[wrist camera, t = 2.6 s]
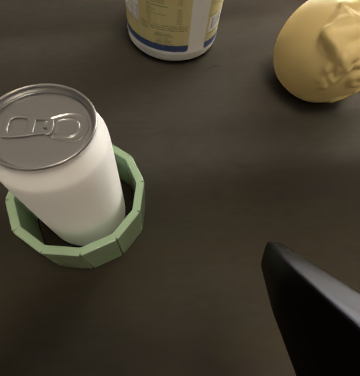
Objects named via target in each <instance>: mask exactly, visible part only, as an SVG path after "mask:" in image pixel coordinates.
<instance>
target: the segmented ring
mask: <svg viewBox="0 0 360 376" xmlns="http://www.w3.org/2000/svg"><path fill="white" fill-rule="evenodd" d="M112 147H113V152H114V156H115V160H116V165H117V169H118V174H119V178H120V179H121V180H123V181H124V182H126V183H127V184H129V185H130V187H131V189H132V191H133V193H134V195H135V196H134V202H133V209H132V211H131V212H130V213H129V214H128V215H127V217H126V218H125V219H124V220H123V221H122V223H121V224H120V225H119V226H118V227H117V229H116V230H115V231H114V232H113V233H112V234H111V235H108V236H106V237H104V238H101V239H99V240H97V241H94V242H92V243H90V244H87V245H85V246H83V247H80V248H77V247H64V246H51V245H45V244H44V241H43V238H42V234H41V231H40V227H39V223H38V217H37V216H36V215H35V214H34V213H33V212H32V211H31V210H30V209H28V208H27V207H26V206H25V205H24V204H23V203H22V202H21V201H20V200H19V199H18V198H17V197H16V196H15V195H14V194H12V193H11V192H10V191H8V194H7V196H6V201H5V203H6V207H7V212H8V216H9V220H10V225H11V229H12V231H13V233H14V234H15V235H17V236H18V237H19V238H21V239H22V240H23V241H24V242H26V243H27V244H28V245H30V246H31V247H32V248H34V249H35V250H36V251H37V252H39V253H40V254H42V255H43V256H45V257H47V258H48V259H50V260H52V261H53V262H55V263H56V264H58V265H61V266H63V267H76V268H90V269H92V268H93V267H94V268H96V267H98V266H100V265H102V264H105V263H107V262H109V261H111V260H113V259H115V258H118V257H120V256H122V253H123V254H124V253H125V252H126V251H127V250H128V248H129V247H130V246H131V244H132V243H133V242H134V241H135V239H136V238H137V237H138V235H139V234H140V233H141V230H142V228H143V220H144V212H145V190H144V180H143V178H142V176H141V174H140V172H139V170H138V168H137V166H136V164H135V162H134V160H133V158H132V157H131V156H130V155H129V154H127V153H126V152H124V151H122V150H121V149H119V148H118V147H116V146H114V145H113V144H112Z"/></svg>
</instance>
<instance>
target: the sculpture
mask: <svg viewBox="0 0 360 376" xmlns="http://www.w3.org/2000/svg"><path fill="white" fill-rule="evenodd" d="M273 65H274V70H275V73H276V76H277V78H278V79H279V81H280V82H281V84H282V85H283V86H284V87H285V88H286V89H287V90H288V91H289V92H290V93H291V94H293V95H294V96H296V97H297V98H299V99H301V100H304V101H308V102H315V103H320V102H329V103H332V102H336V101H339V100H343V99H345V98H347V97H349V96H351V95H352V94H355V93H358V92H359V91H360V0H308V1H307V2H305V3H304V4H303V5H302V6H300V7H299V8H298V9H297V10H296V11H295V12H294V13H293V14H292V15H291V17H290V18H289V19H288V20H287V22H286V23H285V25H284V26H283V28H282V30H281V32H280V34H279V36H278V38H277V41H276V44H275V48H274V55H273Z"/></svg>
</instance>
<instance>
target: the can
mask: <svg viewBox="0 0 360 376" xmlns="http://www.w3.org/2000/svg"><path fill="white" fill-rule="evenodd" d="M0 182H1V183H2V184H3V185H4V186H5V187H6V188H7V189H8V190H9V191H10V192H11V193H12V194H14V195H15V196H16V197H17V198H18V199H19V200H20V201H21V202H22V203H23V204H24V205H25V206H26V207H27V208H28V209H30V210H31V211H32V212H33V213H34V214H35V215H36V216H37V217H38V218H39V219H40V220H41V221H42V222H44V223H45V224H46V225H47V226H48V227H49V228H50V229H51V230H52V231H53V232H54V233H56V234H57V235H58V236H59V237H60V238H61V239H63V240H64V241H66V242H68V243H70V244H73V245H78V246H85V245H87V244H90V243H92V242H94V241H97V240H99V239H101V238H104V237H106V236H108V235H111V234H112V233H113V232H114V231H115V230H116V229H117V227H118V226H119V225H120V224H121V223H122V221H123V220H124V217H125V202H124V197H123V192H122V187H121V183H120V178H119V174H118V169H117V165H116V160H115V156H114V152H113V147H112V143H111V139H110V135H109V132H108V129H107V127H106V124H105V122H104V121H103V119H102V118H101V117H100V115H99V114H98V113H97V112H96V110H95V108H94V106H93V104H92V103H91V101H90V100H89V99H88V98H87V97H86V96H85V95H83V94H82V93H81V92H79V91H77V90H75V89H73V88H70V87H67V86H64V85H59V84H46V83H45V84H34V85H28V86H24V87H21V88H18V89H15V90H13V91H10V92H8V93H6V94H5V95H3V96H1V97H0Z"/></svg>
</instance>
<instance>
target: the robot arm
mask: <svg viewBox="0 0 360 376" xmlns="http://www.w3.org/2000/svg"><path fill="white" fill-rule="evenodd" d="M261 267H262V271H263V275H264V279H265V283H266V287H267V291H268V295H269V299H270V303H271V307H272V310H273V313H274V316H275V319H276V322H277V324H278V327H279V330H280V332H281V335H282V338H283V341H284V343H285V346H286V349H287V351H288V354H289V357H290V360H291V362H292V365H293V368H294V370H295V373H296V376H360V294H359V293H358V292H356V291H355V290H353V289H352V288H350V287H349V286H347V285H345V284H344V283H342V282H341V281H339V280H338V279H336V278H334V277H333V276H331V275H330V274H328V273H327V272H325V271H324V270H322V269H320V268H319V267H317V266H316V265H314V264H313V263H311V262H310V261H308V260H306V259H305V258H303V257H302V256H300V255H299V254H297V253H295V252H294V251H292V250H291V249H289V248H288V247H286V246H285V245H283V244H281V243H279V242H268V243H267V244H266V247H265V251H264V254H263V258H262V262H261Z"/></svg>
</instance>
